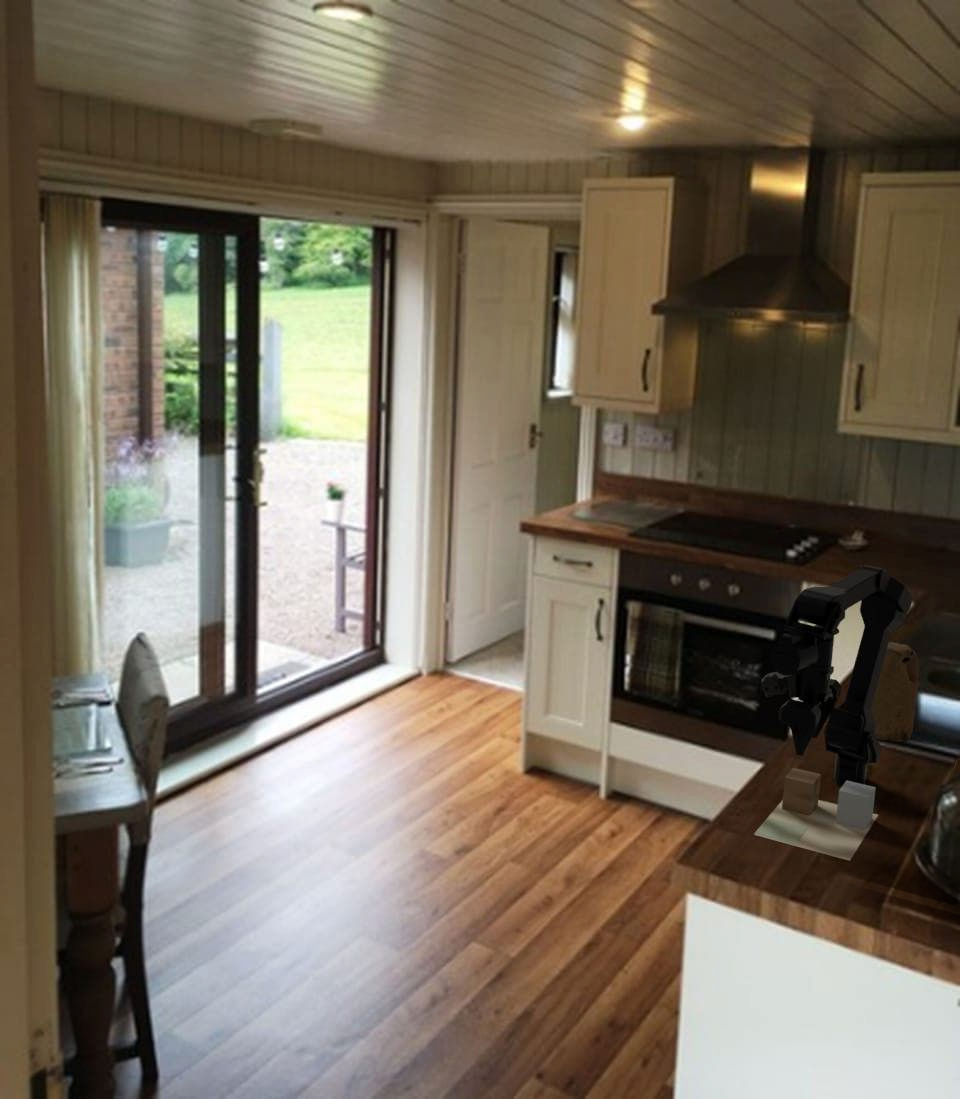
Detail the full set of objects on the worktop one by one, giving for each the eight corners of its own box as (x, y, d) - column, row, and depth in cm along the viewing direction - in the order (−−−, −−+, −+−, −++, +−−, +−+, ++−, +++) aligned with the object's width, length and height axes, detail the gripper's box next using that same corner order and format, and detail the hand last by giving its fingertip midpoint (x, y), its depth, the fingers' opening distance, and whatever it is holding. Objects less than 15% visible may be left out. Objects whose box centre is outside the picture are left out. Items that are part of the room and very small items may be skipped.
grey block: (843, 811, 201) (846, 780, 200) (872, 819, 199) (875, 787, 197) (835, 822, 197) (839, 790, 196) (865, 830, 195) (868, 797, 193)
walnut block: (790, 798, 206) (793, 767, 205) (817, 805, 204) (820, 774, 202) (781, 808, 202) (784, 777, 201) (809, 815, 199) (813, 784, 198)
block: (853, 734, 240) (863, 644, 236) (864, 724, 246) (874, 636, 241) (905, 747, 234) (916, 654, 229) (916, 736, 240) (927, 646, 235)
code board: (788, 797, 209) (788, 792, 209) (877, 820, 201) (878, 814, 201) (753, 839, 192) (753, 834, 192) (849, 866, 184) (849, 860, 184)
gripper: (783, 640, 208) (776, 719, 212) (752, 668, 192) (745, 754, 196) (845, 650, 203) (837, 732, 206) (818, 681, 187) (810, 768, 191)
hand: (806, 746), depth 200 cm, fingers open, 9 cm apart
